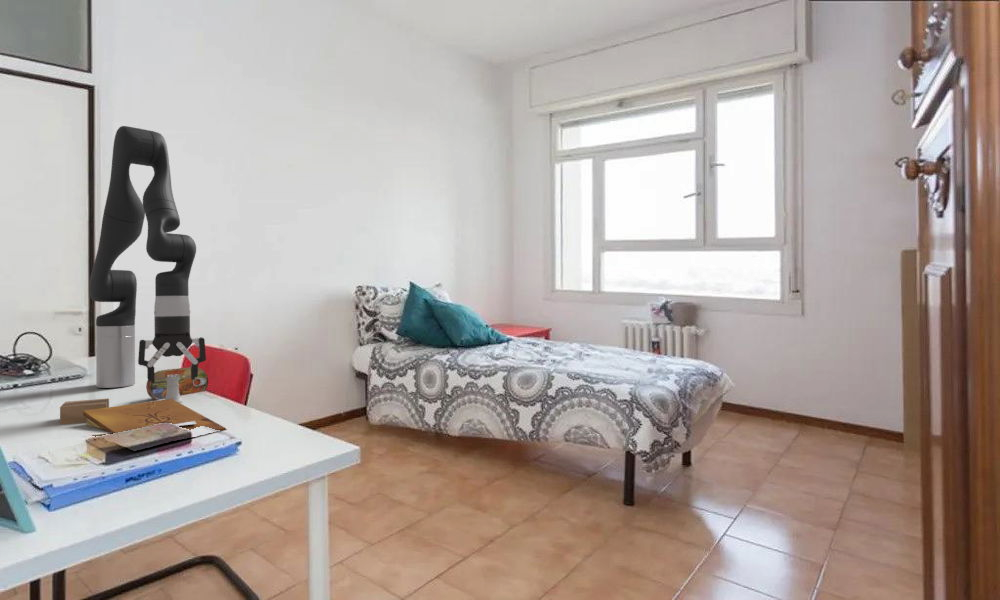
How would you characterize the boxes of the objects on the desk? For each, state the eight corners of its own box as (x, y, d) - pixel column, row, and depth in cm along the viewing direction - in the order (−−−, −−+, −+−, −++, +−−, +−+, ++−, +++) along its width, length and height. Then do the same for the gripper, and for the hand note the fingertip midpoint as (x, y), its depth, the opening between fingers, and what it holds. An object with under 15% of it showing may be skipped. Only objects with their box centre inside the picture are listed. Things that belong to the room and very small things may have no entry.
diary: (226, 452, 122) (228, 427, 122) (131, 474, 107) (133, 445, 106) (172, 420, 135) (175, 397, 134) (80, 436, 119) (83, 409, 119)
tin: (149, 404, 144) (149, 371, 144) (144, 402, 146) (144, 370, 146) (209, 396, 157) (209, 365, 157) (203, 395, 158) (203, 365, 158)
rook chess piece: (173, 409, 136) (173, 376, 136) (157, 409, 137) (157, 375, 137) (187, 406, 140) (187, 374, 140) (171, 405, 141) (171, 373, 141)
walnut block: (65, 419, 126) (65, 401, 126) (109, 415, 131) (109, 398, 131) (60, 426, 120) (60, 407, 120) (106, 421, 124) (106, 403, 124)
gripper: (203, 314, 146) (204, 377, 145) (137, 315, 138) (138, 382, 138) (206, 314, 139) (207, 380, 139) (138, 315, 132) (138, 385, 131)
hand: (173, 381), depth 138 cm, fingers open, 8 cm apart
